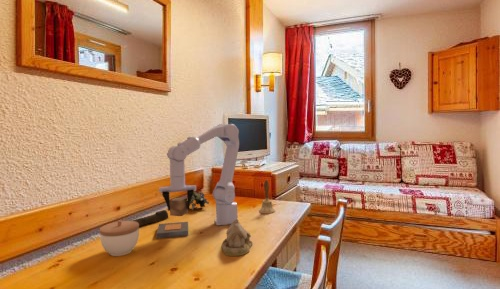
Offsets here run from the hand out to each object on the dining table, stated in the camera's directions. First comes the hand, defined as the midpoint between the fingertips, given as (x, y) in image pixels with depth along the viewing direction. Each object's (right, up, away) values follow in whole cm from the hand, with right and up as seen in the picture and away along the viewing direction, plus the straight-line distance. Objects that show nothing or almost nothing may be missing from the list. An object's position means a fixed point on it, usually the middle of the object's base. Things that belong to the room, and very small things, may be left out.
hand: (178, 209), depth 122 cm
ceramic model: (+24, -11, -15) cm, 31 cm away
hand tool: (-17, -10, +15) cm, 25 cm away
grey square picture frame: (-3, -10, +2) cm, 11 cm away
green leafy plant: (0, -8, +37) cm, 38 cm away
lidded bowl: (-16, -12, -17) cm, 26 cm away
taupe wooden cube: (0, -2, 0) cm, 2 cm away
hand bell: (+37, -8, +30) cm, 49 cm away
